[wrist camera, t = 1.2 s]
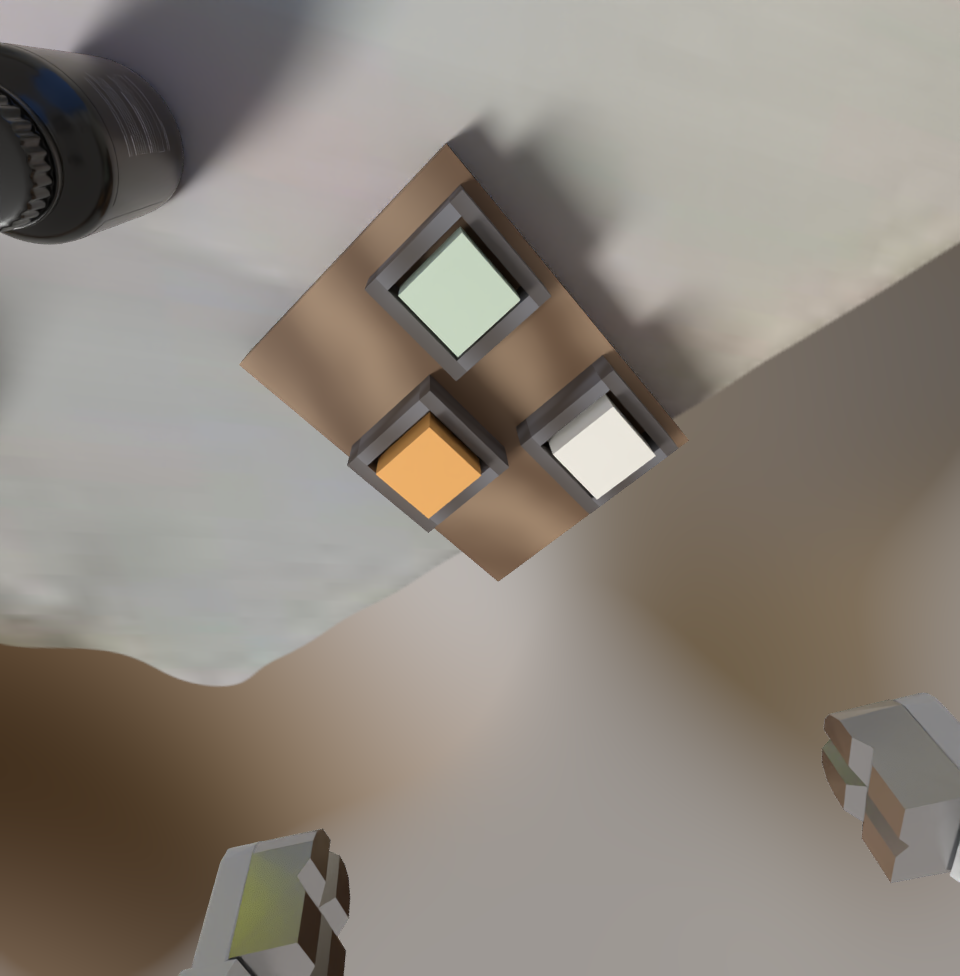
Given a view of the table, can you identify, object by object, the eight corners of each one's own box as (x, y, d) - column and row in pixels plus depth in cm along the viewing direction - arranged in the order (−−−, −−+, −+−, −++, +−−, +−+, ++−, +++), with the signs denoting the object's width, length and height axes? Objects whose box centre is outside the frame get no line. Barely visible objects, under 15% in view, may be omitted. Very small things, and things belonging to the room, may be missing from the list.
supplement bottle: (28, 39, 28) (-201, -5, 18) (186, 77, 29) (55, 57, 19) (48, 200, 32) (-137, 241, 21) (188, 229, 33) (78, 281, 23)
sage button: (460, 225, 30) (461, 232, 29) (515, 290, 32) (520, 300, 30) (399, 286, 32) (398, 295, 30) (456, 344, 33) (457, 357, 32)
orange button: (429, 412, 35) (429, 427, 34) (479, 458, 37) (481, 475, 35) (378, 457, 37) (375, 474, 35) (428, 500, 38) (428, 518, 37)
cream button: (604, 392, 35) (612, 406, 34) (645, 440, 37) (655, 455, 35) (547, 438, 37) (552, 454, 35) (589, 482, 38) (596, 499, 37)
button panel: (445, 143, 32) (447, 147, 28) (678, 426, 41) (703, 459, 37) (248, 353, 36) (226, 381, 33) (495, 564, 46) (501, 605, 42)
